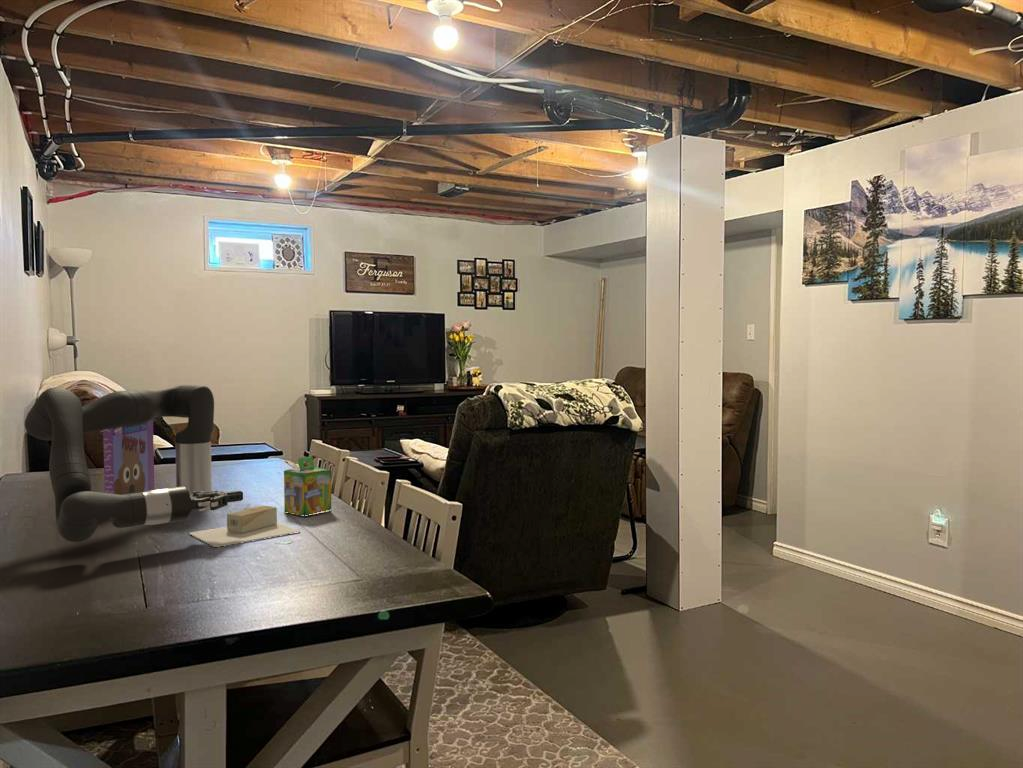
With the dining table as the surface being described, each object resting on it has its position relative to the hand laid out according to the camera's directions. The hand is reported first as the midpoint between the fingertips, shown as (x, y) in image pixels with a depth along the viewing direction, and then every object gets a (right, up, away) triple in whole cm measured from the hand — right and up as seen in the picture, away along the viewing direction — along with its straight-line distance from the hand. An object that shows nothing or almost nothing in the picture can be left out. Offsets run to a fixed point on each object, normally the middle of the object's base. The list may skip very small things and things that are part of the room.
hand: (241, 495), depth 174 cm
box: (-2, -7, 0) cm, 7 cm away
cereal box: (-45, -8, +37) cm, 58 cm away
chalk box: (+9, -8, +24) cm, 27 cm away
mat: (0, -9, +1) cm, 9 cm away
